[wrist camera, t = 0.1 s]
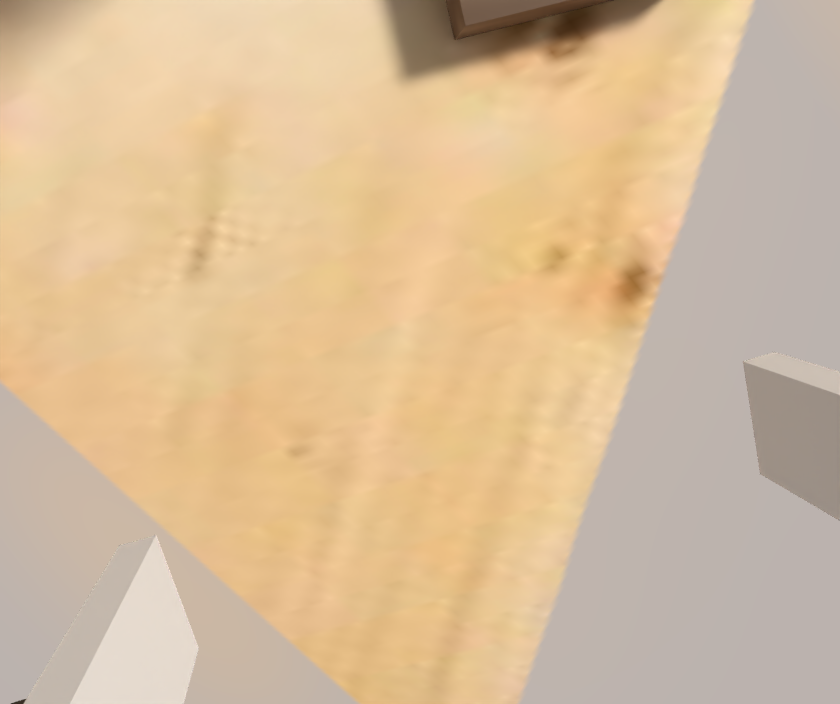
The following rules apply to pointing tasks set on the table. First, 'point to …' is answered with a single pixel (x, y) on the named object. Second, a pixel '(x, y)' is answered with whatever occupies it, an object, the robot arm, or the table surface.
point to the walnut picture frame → (504, 13)
